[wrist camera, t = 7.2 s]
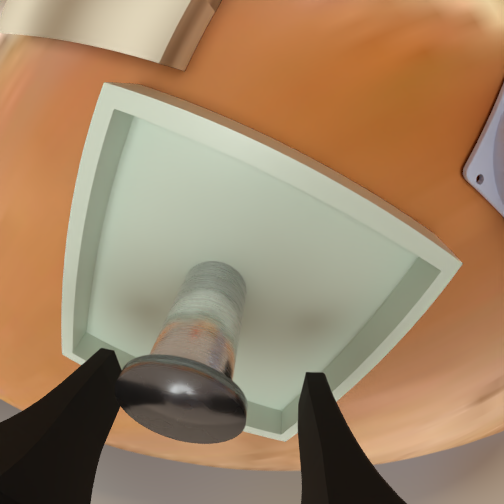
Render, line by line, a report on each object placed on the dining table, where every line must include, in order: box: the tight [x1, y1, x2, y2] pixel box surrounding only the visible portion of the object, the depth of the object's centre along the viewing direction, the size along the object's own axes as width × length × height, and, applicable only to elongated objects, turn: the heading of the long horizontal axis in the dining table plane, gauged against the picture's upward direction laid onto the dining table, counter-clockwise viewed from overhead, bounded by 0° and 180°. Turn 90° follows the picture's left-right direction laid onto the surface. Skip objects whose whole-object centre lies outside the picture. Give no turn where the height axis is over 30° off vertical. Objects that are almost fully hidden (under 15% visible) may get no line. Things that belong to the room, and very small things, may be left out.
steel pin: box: [114, 261, 248, 444], centre depth 11 cm, size 4×4×7 cm
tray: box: [62, 82, 463, 442], centre depth 14 cm, size 16×16×3 cm
